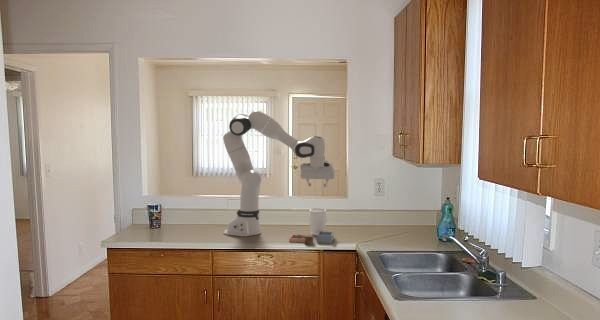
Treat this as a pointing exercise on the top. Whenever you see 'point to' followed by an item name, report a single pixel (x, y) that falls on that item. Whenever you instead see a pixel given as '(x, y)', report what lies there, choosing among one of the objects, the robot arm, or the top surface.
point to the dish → (294, 239)
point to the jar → (317, 220)
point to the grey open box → (325, 237)
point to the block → (309, 239)
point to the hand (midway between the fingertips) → (317, 186)
